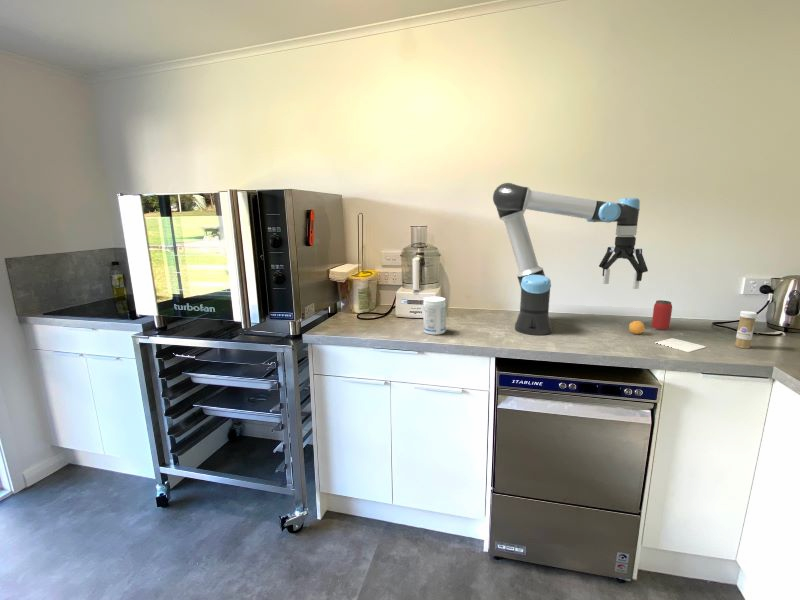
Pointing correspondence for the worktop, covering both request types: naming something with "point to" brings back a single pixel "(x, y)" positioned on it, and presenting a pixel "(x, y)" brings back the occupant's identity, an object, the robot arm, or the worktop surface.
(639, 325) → the ball
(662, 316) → the beer can
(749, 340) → the sprinkles bottle
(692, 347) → the spiral notepad
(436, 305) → the supplement tub
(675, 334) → the worktop surface
